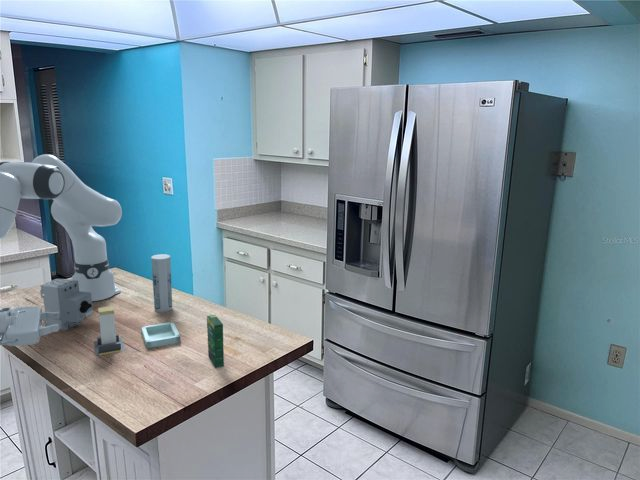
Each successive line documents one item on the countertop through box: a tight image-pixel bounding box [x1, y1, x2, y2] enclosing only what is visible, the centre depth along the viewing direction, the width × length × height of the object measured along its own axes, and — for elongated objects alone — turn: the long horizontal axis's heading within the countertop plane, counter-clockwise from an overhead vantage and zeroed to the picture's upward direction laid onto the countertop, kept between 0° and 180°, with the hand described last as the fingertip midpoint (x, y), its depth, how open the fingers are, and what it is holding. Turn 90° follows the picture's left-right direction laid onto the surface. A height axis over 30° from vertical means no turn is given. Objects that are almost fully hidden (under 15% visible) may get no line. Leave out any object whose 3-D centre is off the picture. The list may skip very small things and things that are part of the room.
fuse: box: [97, 305, 117, 345], centre depth 141 cm, size 4×4×12 cm
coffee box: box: [206, 314, 225, 369], centre depth 135 cm, size 8×3×13 cm, turn 27°
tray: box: [141, 321, 181, 349], centre depth 149 cm, size 12×10×3 cm
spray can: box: [150, 253, 173, 313], centre depth 171 cm, size 6×6×20 cm
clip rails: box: [93, 333, 126, 357], centre depth 142 cm, size 10×8×2 cm
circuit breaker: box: [39, 277, 94, 331], centre depth 154 cm, size 8×14×15 cm, turn 78°
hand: (59, 320), depth 135 cm, fingers open, 8 cm apart
